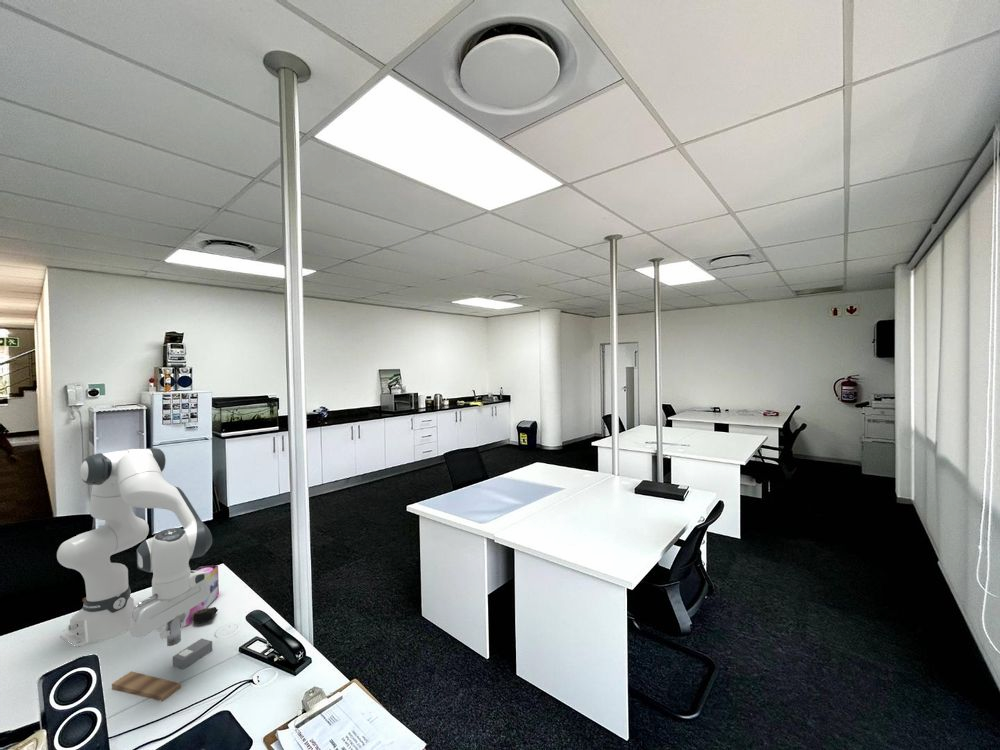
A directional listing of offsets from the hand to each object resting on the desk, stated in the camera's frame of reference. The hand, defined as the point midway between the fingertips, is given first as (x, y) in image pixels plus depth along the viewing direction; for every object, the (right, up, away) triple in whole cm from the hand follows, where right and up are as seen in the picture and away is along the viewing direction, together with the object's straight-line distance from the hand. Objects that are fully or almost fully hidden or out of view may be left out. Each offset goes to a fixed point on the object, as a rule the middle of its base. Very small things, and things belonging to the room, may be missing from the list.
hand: (173, 631), depth 118 cm
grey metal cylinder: (0, -3, 0) cm, 3 cm away
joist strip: (-8, -17, 0) cm, 19 cm away
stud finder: (-4, -17, +12) cm, 22 cm away
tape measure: (-12, -17, +32) cm, 38 cm away
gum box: (-24, -17, +39) cm, 49 cm away
